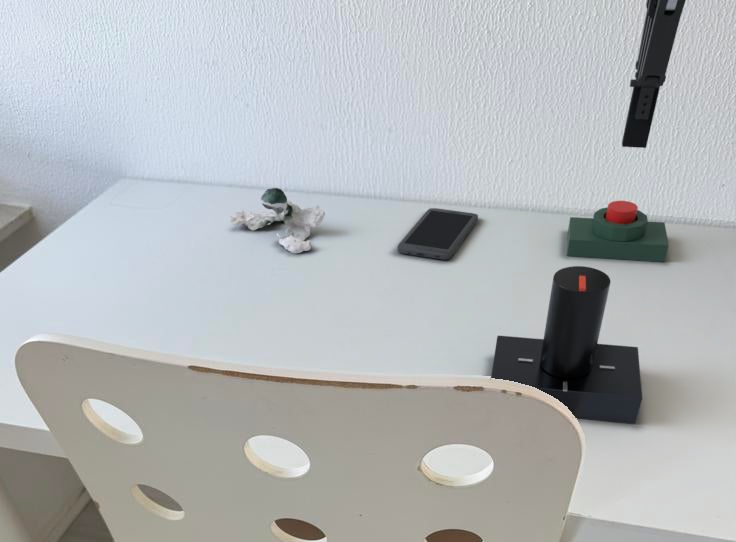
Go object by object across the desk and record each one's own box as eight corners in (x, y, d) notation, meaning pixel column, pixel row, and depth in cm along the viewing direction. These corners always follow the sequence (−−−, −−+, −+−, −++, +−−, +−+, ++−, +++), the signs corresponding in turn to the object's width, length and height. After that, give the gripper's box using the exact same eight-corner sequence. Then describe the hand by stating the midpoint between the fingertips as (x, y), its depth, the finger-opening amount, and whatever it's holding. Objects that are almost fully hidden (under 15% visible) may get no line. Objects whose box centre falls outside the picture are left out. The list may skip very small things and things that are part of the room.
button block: (660, 238, 101) (668, 208, 99) (664, 262, 96) (672, 231, 94) (567, 233, 104) (572, 203, 101) (566, 255, 99) (571, 225, 96)
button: (634, 214, 98) (637, 201, 97) (635, 226, 96) (638, 212, 95) (605, 213, 99) (607, 199, 98) (605, 224, 97) (608, 211, 95)
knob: (540, 348, 77) (554, 261, 71) (591, 352, 76) (610, 264, 70) (539, 376, 74) (553, 286, 67) (592, 380, 73) (612, 290, 66)
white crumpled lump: (345, 222, 105) (319, 186, 98) (318, 274, 105) (291, 242, 98) (264, 200, 112) (235, 166, 105) (239, 249, 112) (208, 218, 105)
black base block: (631, 371, 79) (638, 344, 77) (635, 424, 73) (643, 397, 71) (494, 359, 82) (497, 333, 79) (486, 409, 75) (489, 382, 73)
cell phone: (395, 252, 101) (395, 247, 100) (429, 212, 110) (429, 206, 109) (449, 261, 98) (449, 255, 98) (479, 218, 107) (479, 213, 107)
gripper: (739, -101, 70) (671, 166, 86) (721, -116, 79) (662, 128, 95) (653, -101, 71) (602, 163, 87) (645, -115, 80) (600, 125, 97)
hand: (633, 144), depth 91 cm, fingers closed
